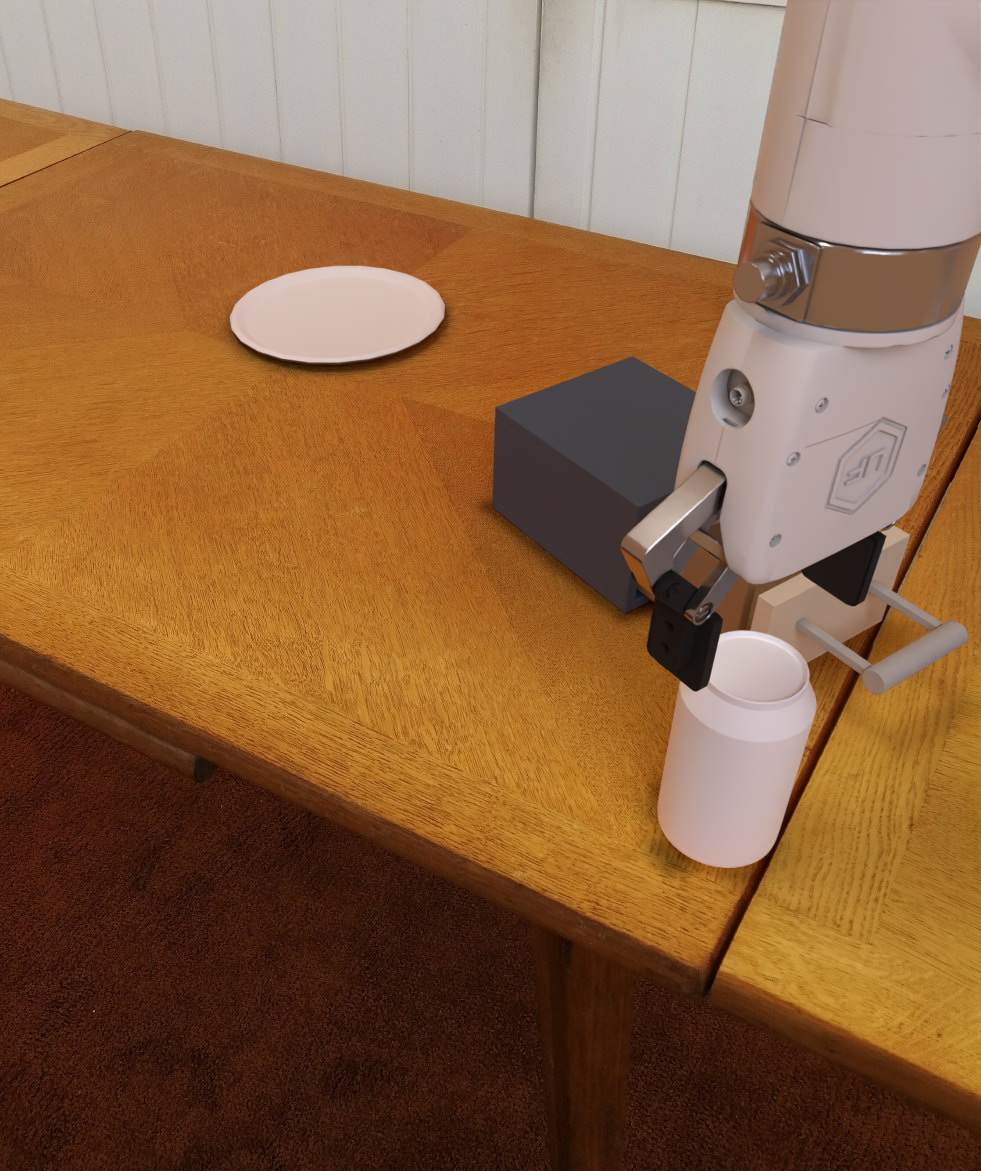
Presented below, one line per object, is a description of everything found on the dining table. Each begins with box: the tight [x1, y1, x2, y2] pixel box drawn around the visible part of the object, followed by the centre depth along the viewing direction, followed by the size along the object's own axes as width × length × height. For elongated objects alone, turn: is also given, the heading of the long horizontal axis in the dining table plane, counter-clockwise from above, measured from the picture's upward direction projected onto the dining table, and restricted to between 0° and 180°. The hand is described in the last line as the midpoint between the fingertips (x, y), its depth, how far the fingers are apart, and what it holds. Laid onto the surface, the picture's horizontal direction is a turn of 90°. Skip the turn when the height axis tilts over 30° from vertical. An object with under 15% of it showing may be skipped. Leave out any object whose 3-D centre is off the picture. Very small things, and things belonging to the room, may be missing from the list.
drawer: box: [637, 510, 969, 696], centre depth 66 cm, size 20×11×7 cm, turn 32°
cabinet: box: [492, 356, 696, 614], centre depth 75 cm, size 15×13×9 cm
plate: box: [229, 265, 446, 366], centre depth 105 cm, size 21×21×1 cm
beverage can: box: [656, 630, 818, 869], centre depth 54 cm, size 6×6×12 cm
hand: (756, 628), depth 48 cm, fingers open, 9 cm apart
